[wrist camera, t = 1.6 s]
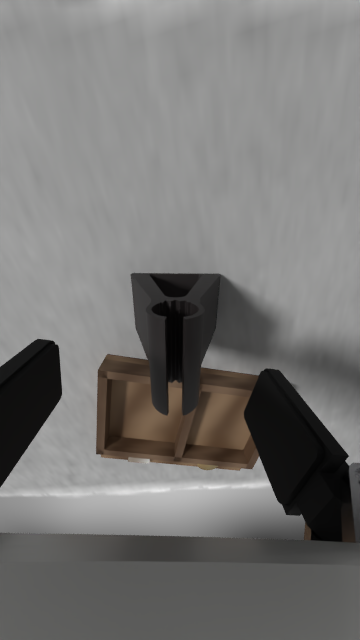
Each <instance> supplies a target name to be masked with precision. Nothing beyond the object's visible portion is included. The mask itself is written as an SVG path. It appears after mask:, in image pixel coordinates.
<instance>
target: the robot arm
mask: <svg viewBox="0 0 360 640" xmlns="http://www.w3.org/2000/svg"><path fill="white" fill-rule="evenodd" d="M61 396H62V385H61V371H60V357H59V347H58V345H55V342H54V341H51V340H43V339H37V340H35V341H34V342H32V343H31V344H30V345H28V346H27V347H26V348H25V349H23V350H22V351H21V352H19V353H18V354H17V355H15V356H14V357H13V358H11V359H10V360H9V361H8V362H6V363H5V364H4V365H2V366H1V367H0V487H1V486H2V484H3V483H4V481H5V480H6V478H7V477H8V476H9V474H10V473H11V471H12V470H13V468H14V467H15V465H16V464H17V462H18V461H19V459H20V458H21V456H22V455H23V453H24V452H25V451H26V449H27V448H28V446H29V445H30V443H31V442H32V440H33V439H34V437H35V436H36V434H37V433H38V431H39V430H40V428H41V427H42V426H43V424H44V423H45V421H46V420H47V418H48V417H49V415H50V414H51V412H52V411H53V409H54V408H55V406H56V405H57V403H58V402H59V400H60V398H61ZM244 419H245V421H246V424H247V426H248V429H249V431H250V434H251V436H252V439H253V441H254V444H255V446H256V449H257V451H258V454H259V456H260V459H261V461H262V464H263V466H264V469H265V471H266V473H267V476H268V478H269V481H270V483H271V486H272V488H273V491H274V493H275V496H276V498H277V500H278V502H279V503H281V504H282V505H283V508H284V510H285V513H286V515H299V516H300V515H301V514H302V515H303V518H304V520H305V533H304V540H286V539H284V540H283V539H254V538H220V537H181V536H180V537H179V536H139V535H137V536H135V535H93V534H92V535H90V534H36V533H0V640H360V463H352V464H351V465H350V466H349V465H348V464H347V463H346V462H345V460H346V459H347V458H348V457H349V456H348V454H347V453H346V452H345V451H344V449H343V448H342V447H341V446H340V444H339V443H338V442H337V441H336V440H335V438H334V437H333V436H332V435H331V433H330V432H329V431H328V430H327V428H326V427H325V426H324V425H323V423H322V422H321V421H320V420H319V419H318V417H317V416H316V415H315V414H314V412H313V411H312V410H311V409H310V407H309V406H308V405H307V404H306V403H305V401H304V400H303V399H302V398H301V396H300V395H299V394H298V393H297V391H296V390H295V389H294V388H293V386H292V385H291V384H290V383H289V382H288V380H287V379H286V378H285V377H284V375H283V374H282V373H281V372H280V371H279V370H275V369H265V370H264V371H262V372H261V373H260V375H259V377H258V379H257V382H256V384H255V386H254V389H253V391H252V394H251V396H250V398H249V401H248V403H247V405H246V408H245V410H244Z"/></svg>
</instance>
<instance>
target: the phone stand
mask: <svg viewBox="0 0 360 640" xmlns="http://www.w3.org/2000/svg"><path fill="white" fill-rule="evenodd" d="M131 281H132V292H133V303H134V314H135V325H136V330H137V333H138V335H139V338H140V340H141V343H142V346H143V348H144V351H145V353H146V356H147V358H148V361H149V366H150V381H151V396H152V404H153V406H154V407H155V409H156V410H157V411H158V412H160V413H161V414H163V415H166V416H167V415H168V413H169V395H168V382H170V383H173V382H174V381H175V380H176V381H177V382H178V383H181V382H182V414H183V416H184V415H187V414H189V413H190V412H192V411H193V410H194V409H195V408H196V406H197V405H198V402H199V390H200V374H201V364H202V361H203V359H204V356H205V354H206V351H207V349H208V346H209V344H210V341H211V339H212V336H213V333H214V331H215V328H216V318H217V307H218V296H219V285H220V274H168V273H132V274H131Z"/></svg>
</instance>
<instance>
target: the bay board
mask: <svg viewBox="0 0 360 640" xmlns="http://www.w3.org/2000/svg"><path fill="white" fill-rule="evenodd" d="M258 377H259V376H257V375H250V374H243V373H236V372H229V371H222V370H214V369H207V368H201V374H200V390H199V402H198V405H197V406H196V408H195V409H194V410H193V411H192V412H190V413H189V414H187V415H184V416H183V414H182V382H181V383H178V382H177V381H176V380H175V381H174V382H173V383H170V382H168V395H169V413H168V415H167V416H166V415H163V414H161V413H160V412H158V411H157V410H156V409H155V407H154V406H153V404H152V396H151V381H150V366H149V361H148V360H144V359H137V358H130V357H123V356H116V355H109V354H107V356H106V357H105V359H104V361H103V362H102V364H101V366H100V367H99V369H98V393H97V442H96V454H101V457H104V458H114V459H125V460H128V462H136V463H147V464H149V462H156V463H166V464H177V465H187V466H198V467H199V468H201V469H203V470H212V469H215V468H218V469H229V470H239V471H240V469H241V468H245V469H252V468H253V467H254V465H255V463H256V461H257V459H258V457H259V454H258V451H257V449H256V446H255V444H254V441H253V439H252V436H251V434H250V431H249V429H248V426H247V424H246V421H245V419H244V410H245V408H246V405H247V403H248V401H249V398H250V396H251V394H252V391H253V389H254V386H255V384H256V382H257V379H258Z"/></svg>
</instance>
